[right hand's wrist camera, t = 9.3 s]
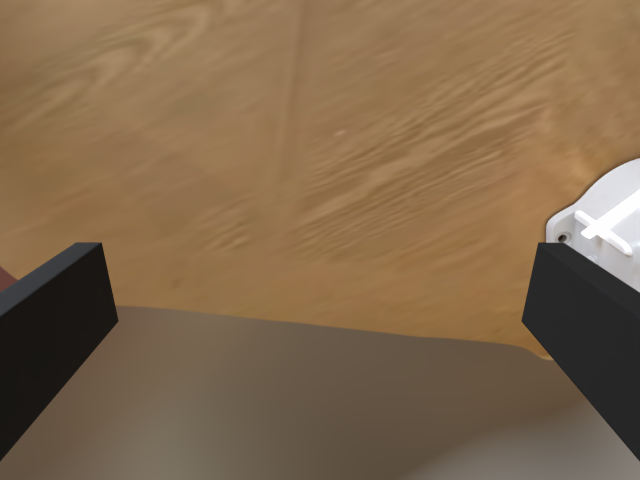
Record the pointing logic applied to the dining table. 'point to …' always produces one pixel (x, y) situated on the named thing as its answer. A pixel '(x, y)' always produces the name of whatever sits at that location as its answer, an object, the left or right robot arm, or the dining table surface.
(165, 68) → the dining table surface
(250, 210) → the dining table surface
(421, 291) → the dining table surface
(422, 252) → the dining table surface
